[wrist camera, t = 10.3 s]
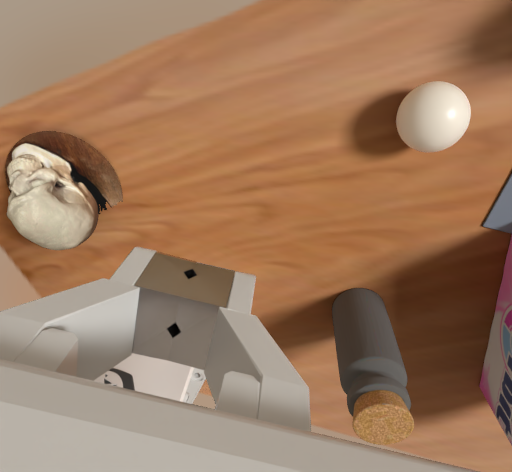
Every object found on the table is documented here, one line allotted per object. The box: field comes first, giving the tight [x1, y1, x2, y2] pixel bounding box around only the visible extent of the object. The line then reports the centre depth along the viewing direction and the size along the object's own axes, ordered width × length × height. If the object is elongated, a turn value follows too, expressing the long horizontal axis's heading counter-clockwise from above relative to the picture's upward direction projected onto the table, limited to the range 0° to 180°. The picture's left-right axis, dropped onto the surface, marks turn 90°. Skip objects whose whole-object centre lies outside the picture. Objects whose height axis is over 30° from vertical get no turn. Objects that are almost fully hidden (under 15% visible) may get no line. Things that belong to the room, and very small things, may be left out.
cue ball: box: [396, 81, 471, 152], centre depth 32 cm, size 6×6×6 cm
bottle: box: [332, 288, 414, 445], centre depth 38 cm, size 6×6×15 cm
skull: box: [6, 131, 123, 250], centre depth 40 cm, size 12×10×10 cm
